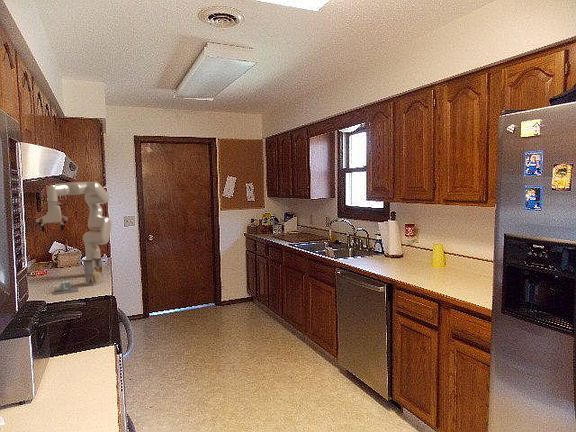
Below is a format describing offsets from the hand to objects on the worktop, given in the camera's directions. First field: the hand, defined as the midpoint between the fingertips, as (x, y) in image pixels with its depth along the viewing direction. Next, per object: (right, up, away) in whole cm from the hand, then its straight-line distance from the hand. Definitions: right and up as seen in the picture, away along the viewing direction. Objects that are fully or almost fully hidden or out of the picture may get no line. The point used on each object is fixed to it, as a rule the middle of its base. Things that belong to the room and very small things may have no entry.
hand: (53, 231), depth 241 cm
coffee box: (+18, -35, +15) cm, 42 cm away
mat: (+9, -36, -1) cm, 38 cm away
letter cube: (+9, -36, -1) cm, 37 cm away
